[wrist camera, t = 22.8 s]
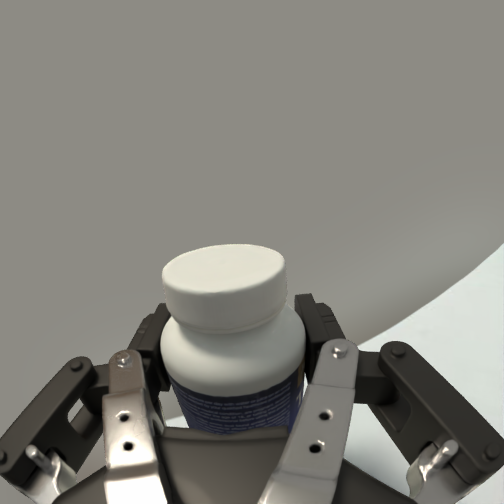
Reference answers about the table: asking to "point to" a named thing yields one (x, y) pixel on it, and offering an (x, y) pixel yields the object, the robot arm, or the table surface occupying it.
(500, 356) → the table surface
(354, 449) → the table surface
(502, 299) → the table surface
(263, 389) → the pill bottle
